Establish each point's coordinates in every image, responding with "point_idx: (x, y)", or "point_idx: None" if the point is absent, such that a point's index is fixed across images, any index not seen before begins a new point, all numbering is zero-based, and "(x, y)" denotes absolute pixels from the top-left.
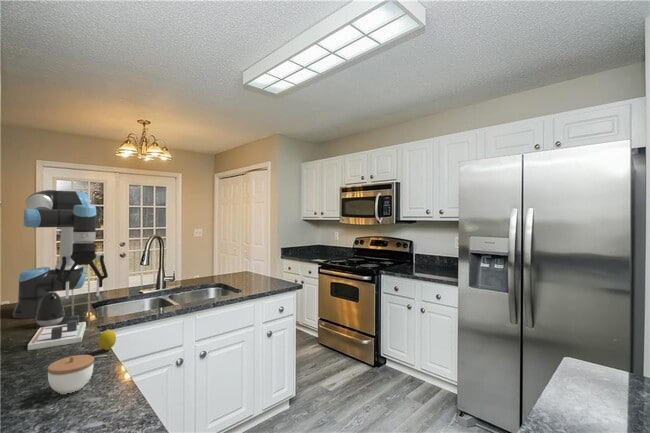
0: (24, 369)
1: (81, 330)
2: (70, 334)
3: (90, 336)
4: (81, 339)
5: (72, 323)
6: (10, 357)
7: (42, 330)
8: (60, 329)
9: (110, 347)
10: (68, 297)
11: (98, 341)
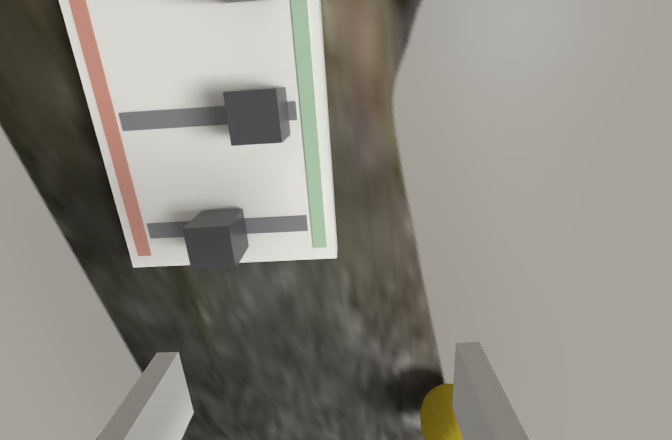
0: (217, 428)
1: (318, 137)
2: (276, 190)
3: (368, 178)
4: (336, 236)
5: (262, 143)
6: (119, 309)
7: (90, 27)
8: (232, 267)
9: None
10: (181, 371)
11: (422, 431)
